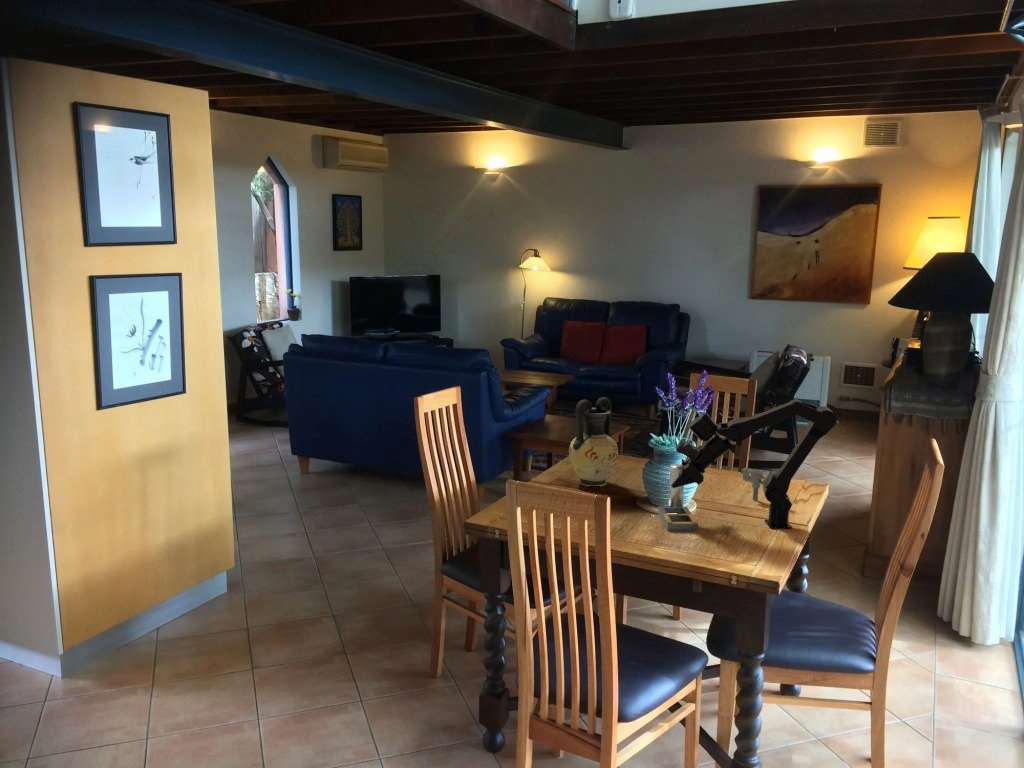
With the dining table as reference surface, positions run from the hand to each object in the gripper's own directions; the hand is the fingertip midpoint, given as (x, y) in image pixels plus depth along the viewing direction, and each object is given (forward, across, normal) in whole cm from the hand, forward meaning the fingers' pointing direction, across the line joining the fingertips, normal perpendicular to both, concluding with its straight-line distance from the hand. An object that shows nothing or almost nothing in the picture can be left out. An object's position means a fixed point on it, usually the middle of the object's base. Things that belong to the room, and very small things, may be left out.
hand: (672, 484), depth 256 cm
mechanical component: (-12, -23, +27) cm, 38 cm away
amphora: (+26, -30, -11) cm, 41 cm away
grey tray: (+6, +4, +9) cm, 11 cm away
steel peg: (+4, 0, +6) cm, 7 cm away
